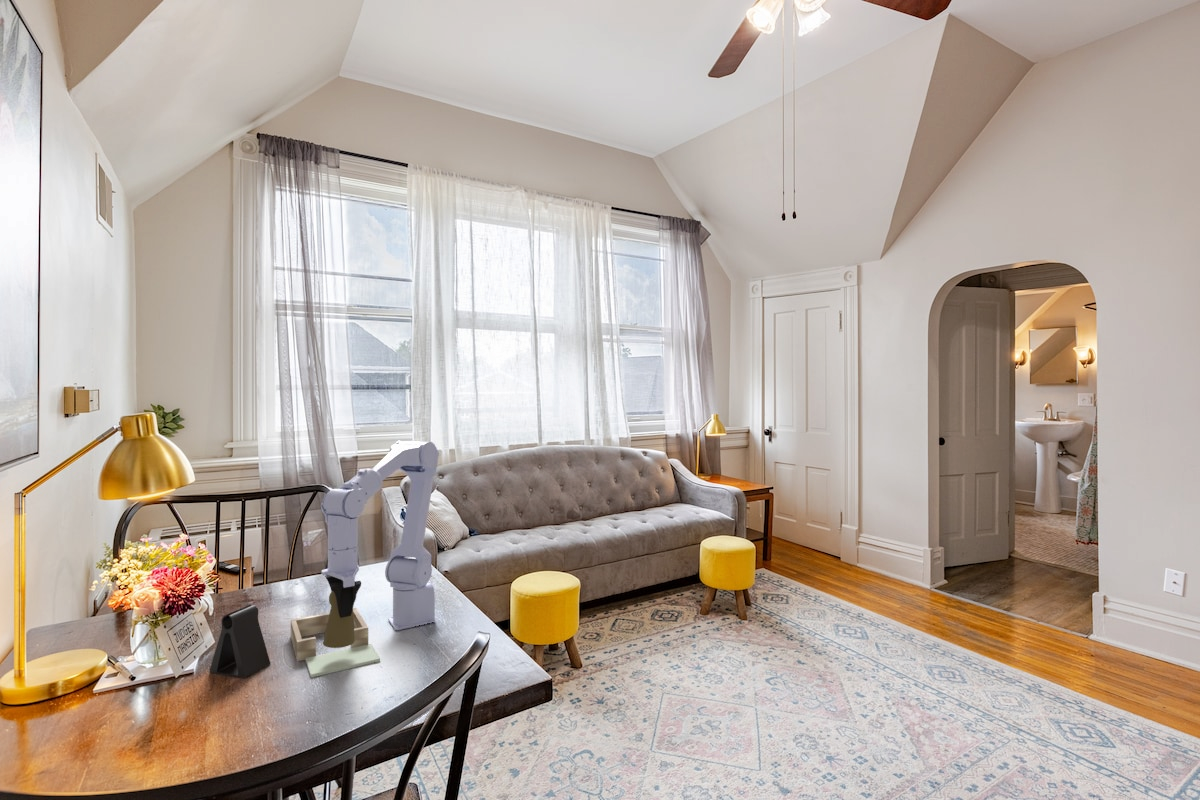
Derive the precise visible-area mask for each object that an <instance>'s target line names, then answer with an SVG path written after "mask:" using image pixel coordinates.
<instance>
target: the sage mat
mask: <svg viewBox="0 0 1200 800" xmlns="http://www.w3.org/2000/svg"><path fill="white" fill-rule="evenodd" d="M374 662H375V663H379V662H381V658H380V656H379V654H378V652H377V651H376V649H375V647H374V645H373V644H372V643H368V645H363V646H359V647H354V648H351V647H350V648H347V649H341V650H336V651H332V652H327V653H322V654H318V655H316V656H313V657H309V658H306V659H305V663H306V666H307V669H308V670H307V671H308V672H309V673H308V674H309V676H310V678H316V677H319V676H324V675H328V674H331V673H336V672H341V671H344V670H349V669H353V668H357V667H361V666H366V665H370V664H374Z"/></svg>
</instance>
